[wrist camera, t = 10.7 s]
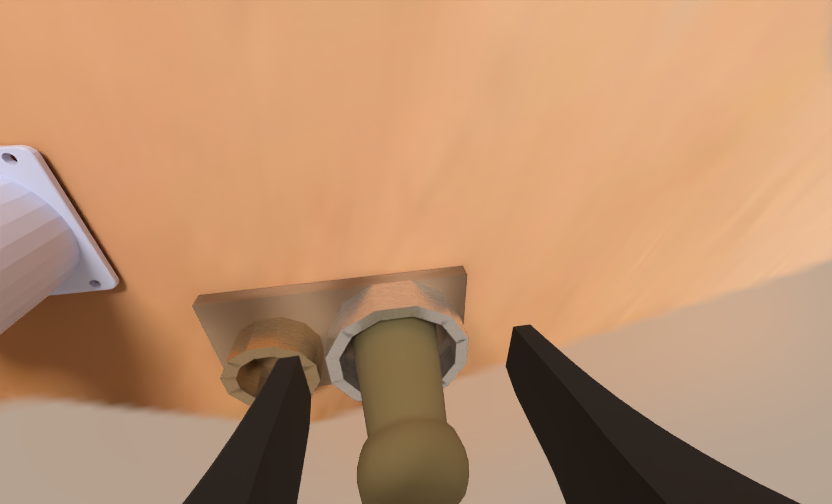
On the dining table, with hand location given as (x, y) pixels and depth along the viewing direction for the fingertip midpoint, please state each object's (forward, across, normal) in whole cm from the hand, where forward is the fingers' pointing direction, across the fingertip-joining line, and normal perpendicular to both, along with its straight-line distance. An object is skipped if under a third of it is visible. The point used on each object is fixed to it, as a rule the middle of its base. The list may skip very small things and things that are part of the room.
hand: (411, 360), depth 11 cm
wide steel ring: (+9, 0, +8) cm, 13 cm away
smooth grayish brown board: (+10, +4, +8) cm, 14 cm away
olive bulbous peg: (+10, 0, +8) cm, 12 cm away
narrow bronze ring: (+9, +8, +8) cm, 15 cm away
